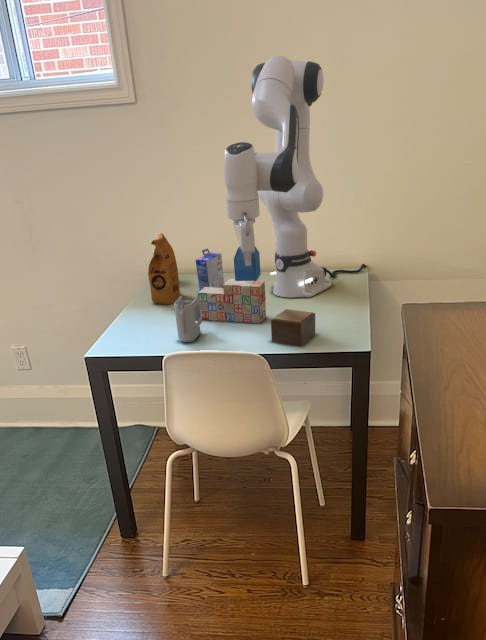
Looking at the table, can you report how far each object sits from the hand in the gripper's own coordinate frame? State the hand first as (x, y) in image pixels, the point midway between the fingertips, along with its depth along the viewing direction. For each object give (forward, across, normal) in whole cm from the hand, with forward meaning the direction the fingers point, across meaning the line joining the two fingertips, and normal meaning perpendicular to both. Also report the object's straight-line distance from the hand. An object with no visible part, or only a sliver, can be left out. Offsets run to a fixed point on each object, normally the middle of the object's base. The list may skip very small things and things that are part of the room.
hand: (246, 261), depth 190 cm
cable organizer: (+25, +9, +18) cm, 32 cm away
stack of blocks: (+25, +22, +4) cm, 33 cm away
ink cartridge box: (+25, +56, +10) cm, 62 cm away
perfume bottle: (+5, 0, 0) cm, 5 cm away
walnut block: (+25, 0, -13) cm, 28 cm away
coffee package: (+25, +49, +27) cm, 61 cm away
